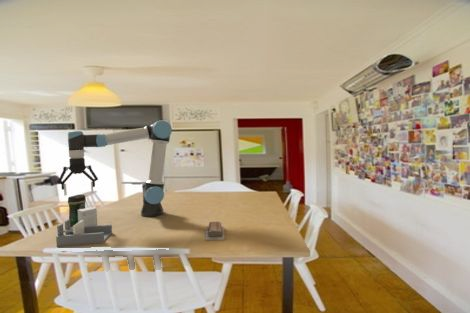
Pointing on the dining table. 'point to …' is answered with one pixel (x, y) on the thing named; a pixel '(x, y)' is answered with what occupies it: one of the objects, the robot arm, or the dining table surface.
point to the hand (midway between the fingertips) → (79, 193)
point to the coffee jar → (75, 207)
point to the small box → (88, 216)
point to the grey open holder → (77, 228)
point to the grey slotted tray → (82, 235)
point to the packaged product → (214, 231)
